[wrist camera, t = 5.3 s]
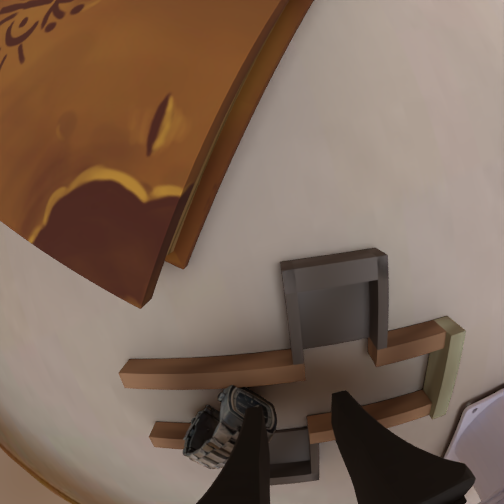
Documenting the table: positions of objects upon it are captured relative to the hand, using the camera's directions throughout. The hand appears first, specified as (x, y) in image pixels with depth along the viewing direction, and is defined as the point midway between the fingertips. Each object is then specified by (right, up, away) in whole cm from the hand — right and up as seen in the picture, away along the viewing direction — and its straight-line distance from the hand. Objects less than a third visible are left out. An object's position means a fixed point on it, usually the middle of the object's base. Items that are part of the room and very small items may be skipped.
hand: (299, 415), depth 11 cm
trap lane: (0, -1, +4) cm, 4 cm away
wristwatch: (-4, -1, +5) cm, 6 cm away
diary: (-12, +20, +1) cm, 23 cm away
